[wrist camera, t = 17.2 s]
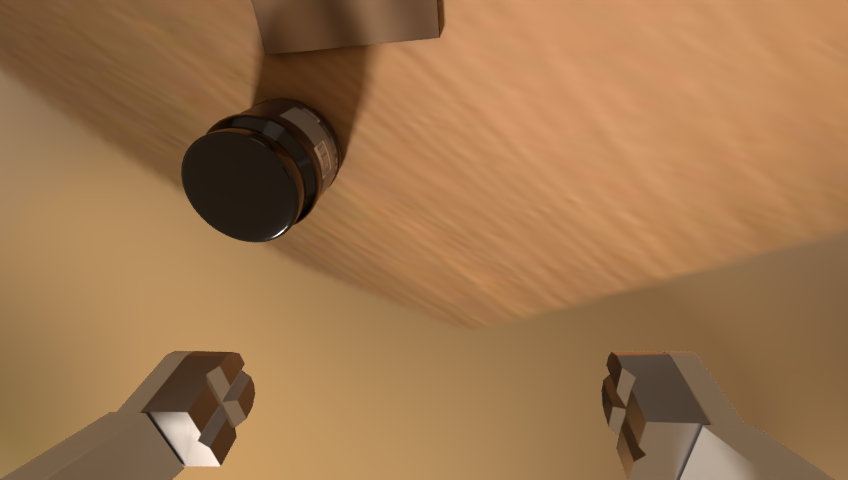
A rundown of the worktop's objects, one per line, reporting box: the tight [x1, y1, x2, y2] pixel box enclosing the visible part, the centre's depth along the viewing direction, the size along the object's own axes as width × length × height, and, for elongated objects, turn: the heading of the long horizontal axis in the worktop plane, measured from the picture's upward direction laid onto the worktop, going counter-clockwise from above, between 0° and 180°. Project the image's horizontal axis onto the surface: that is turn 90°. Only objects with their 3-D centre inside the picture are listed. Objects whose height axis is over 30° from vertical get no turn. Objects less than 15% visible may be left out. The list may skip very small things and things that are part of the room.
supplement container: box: [181, 98, 341, 242], centre depth 36 cm, size 10×10×12 cm
